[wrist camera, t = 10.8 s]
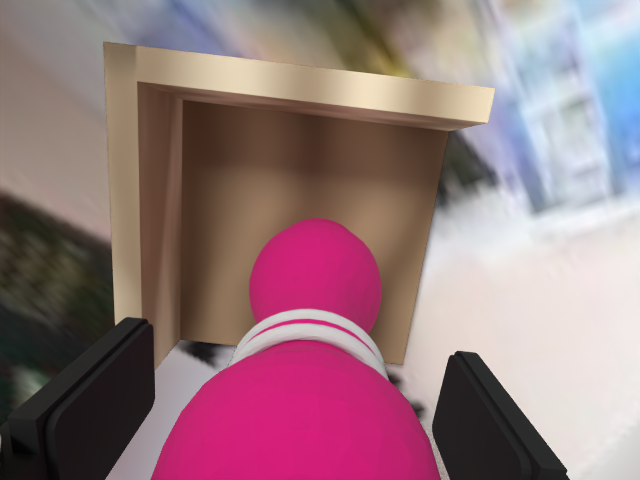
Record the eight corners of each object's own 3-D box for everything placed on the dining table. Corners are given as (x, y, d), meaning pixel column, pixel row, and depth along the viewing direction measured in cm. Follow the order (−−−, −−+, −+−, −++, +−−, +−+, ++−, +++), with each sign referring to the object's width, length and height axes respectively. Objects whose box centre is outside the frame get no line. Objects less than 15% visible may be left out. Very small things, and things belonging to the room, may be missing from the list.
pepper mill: (344, 192, 21) (531, 538, 2) (386, 287, 23) (728, 1020, 3) (246, 237, 22) (-319, 791, 3) (293, 325, 24) (141, 1086, 4)
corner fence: (159, 337, 24) (117, 382, 19) (158, 70, 20) (103, 41, 15) (402, 364, 24) (421, 415, 19) (454, 105, 20) (495, 88, 15)
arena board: (164, 331, 25) (159, 337, 24) (164, 73, 21) (158, 70, 20) (400, 357, 25) (402, 364, 24) (449, 107, 21) (454, 105, 20)
